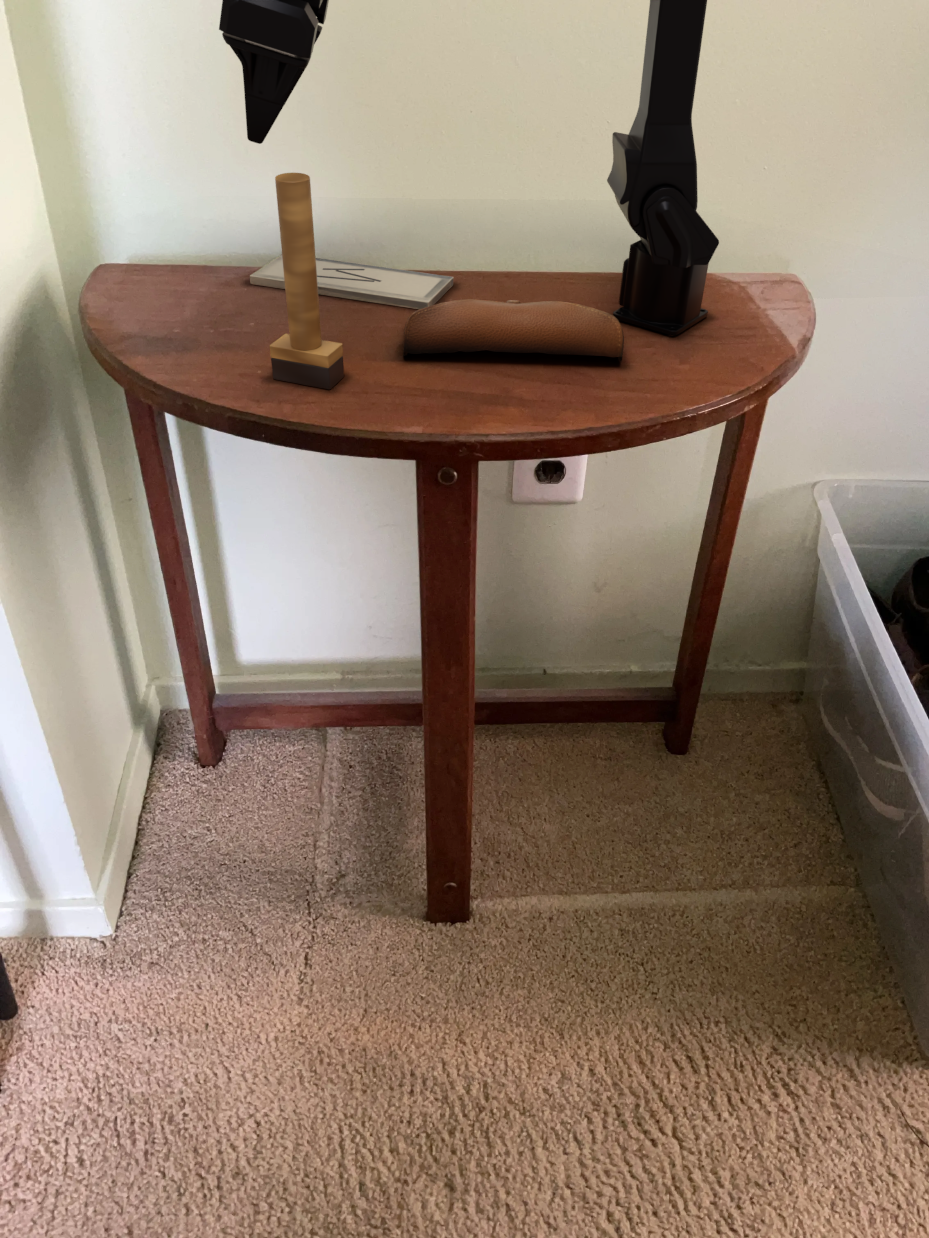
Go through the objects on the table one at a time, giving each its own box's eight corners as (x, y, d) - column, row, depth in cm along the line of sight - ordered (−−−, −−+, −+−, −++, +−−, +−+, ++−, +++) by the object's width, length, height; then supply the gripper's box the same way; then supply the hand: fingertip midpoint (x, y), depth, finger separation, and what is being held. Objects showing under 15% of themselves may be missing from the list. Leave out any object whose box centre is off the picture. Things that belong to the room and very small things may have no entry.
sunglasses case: (612, 322, 87) (624, 271, 81) (614, 391, 84) (627, 343, 78) (407, 317, 87) (404, 265, 81) (404, 385, 84) (400, 337, 78)
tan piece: (344, 377, 78) (333, 176, 69) (330, 390, 77) (316, 186, 67) (288, 366, 80) (269, 168, 70) (272, 379, 78) (251, 177, 68)
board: (453, 285, 95) (453, 276, 94) (428, 311, 90) (428, 302, 89) (283, 260, 99) (283, 252, 99) (250, 284, 94) (249, 275, 93)
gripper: (201, -151, 74) (178, 73, 84) (153, -146, 60) (131, 124, 69) (347, -100, 77) (308, 113, 86) (334, -83, 62) (290, 171, 71)
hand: (261, 127), depth 78 cm, fingers open, 9 cm apart
